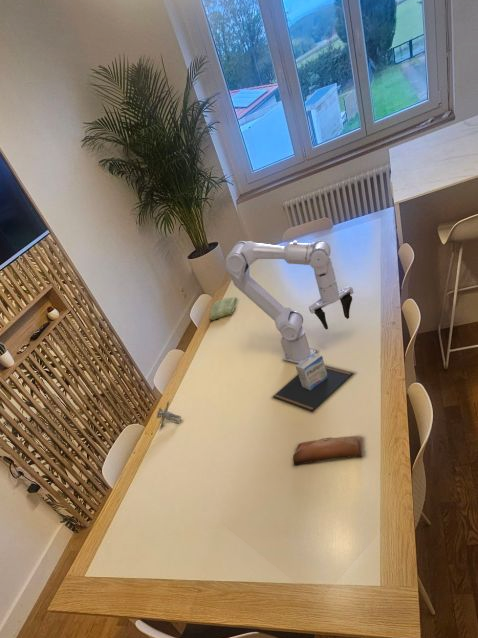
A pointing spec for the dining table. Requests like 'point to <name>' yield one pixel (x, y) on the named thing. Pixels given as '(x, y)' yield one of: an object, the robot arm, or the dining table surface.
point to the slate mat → (313, 397)
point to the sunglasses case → (328, 449)
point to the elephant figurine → (167, 415)
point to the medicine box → (312, 371)
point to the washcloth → (223, 308)
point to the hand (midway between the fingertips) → (336, 322)
